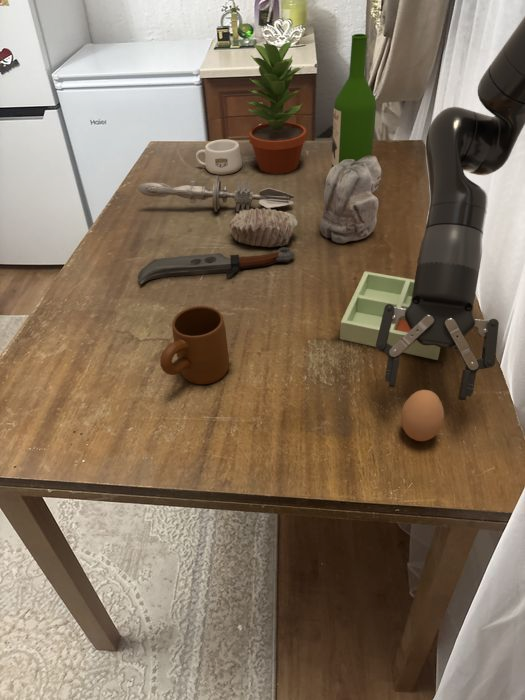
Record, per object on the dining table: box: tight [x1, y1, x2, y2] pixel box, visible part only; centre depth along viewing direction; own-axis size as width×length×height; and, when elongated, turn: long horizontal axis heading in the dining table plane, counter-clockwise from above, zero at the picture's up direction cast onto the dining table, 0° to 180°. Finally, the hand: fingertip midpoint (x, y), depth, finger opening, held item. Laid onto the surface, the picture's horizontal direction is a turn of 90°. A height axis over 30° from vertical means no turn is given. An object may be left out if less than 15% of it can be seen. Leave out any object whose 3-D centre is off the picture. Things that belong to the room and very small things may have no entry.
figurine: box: [319, 154, 382, 244], centre depth 108 cm, size 10×11×15 cm
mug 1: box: [159, 305, 230, 385], centre depth 78 cm, size 12×8×9 cm, turn 147°
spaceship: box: [137, 175, 295, 213], centre depth 120 cm, size 8×35×8 cm
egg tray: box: [339, 270, 441, 361], centre depth 88 cm, size 15×15×4 cm
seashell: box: [229, 207, 299, 248], centre depth 109 cm, size 14×9×10 cm
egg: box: [400, 389, 445, 442], centre depth 68 cm, size 5×5×8 cm
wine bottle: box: [331, 33, 377, 168], centre depth 117 cm, size 9×9×32 cm
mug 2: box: [195, 138, 243, 176], centre depth 139 cm, size 12×10×6 cm
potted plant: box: [246, 37, 307, 175], centre depth 131 cm, size 15×15×30 cm
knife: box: [137, 246, 295, 285], centre depth 103 cm, size 9×2×30 cm
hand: (426, 393), depth 67 cm, fingers open, 8 cm apart
